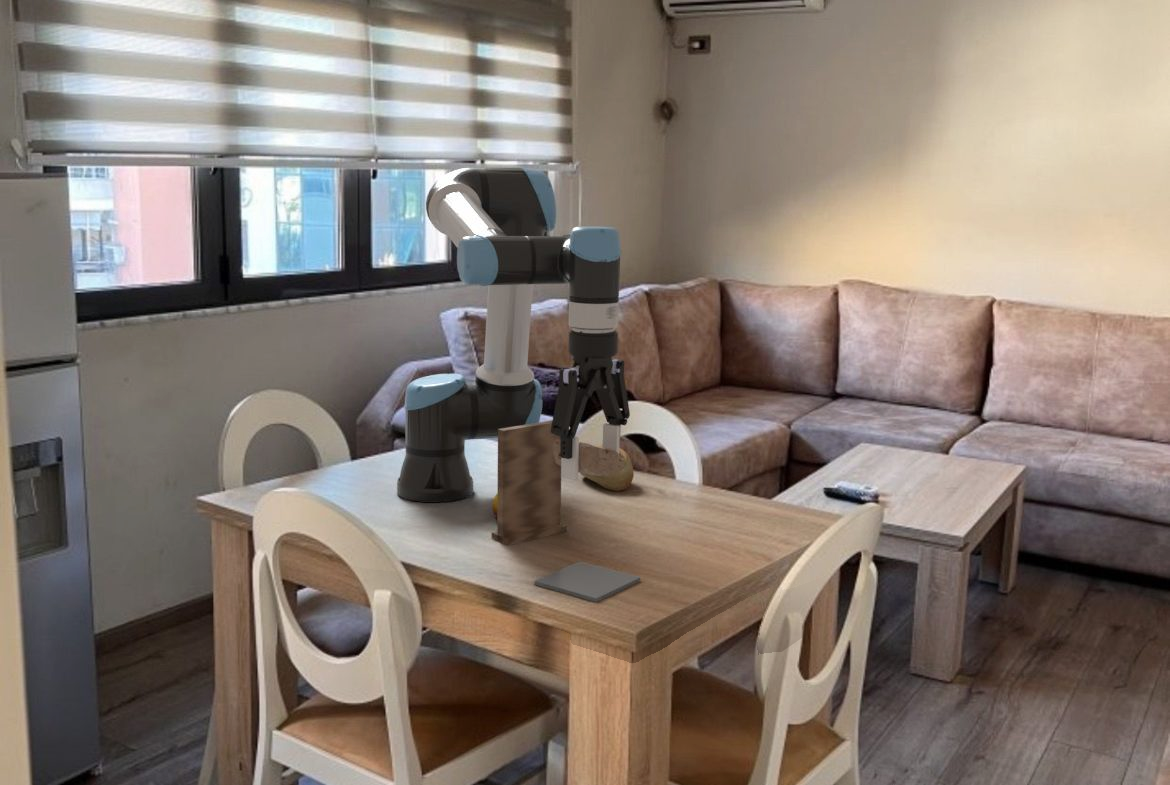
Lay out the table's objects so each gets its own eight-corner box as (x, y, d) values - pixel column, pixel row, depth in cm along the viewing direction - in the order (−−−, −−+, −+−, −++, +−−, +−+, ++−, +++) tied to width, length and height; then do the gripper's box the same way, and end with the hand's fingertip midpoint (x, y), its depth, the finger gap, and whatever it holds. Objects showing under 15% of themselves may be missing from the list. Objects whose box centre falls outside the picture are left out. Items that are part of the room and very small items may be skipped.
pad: (534, 584, 185) (534, 580, 185) (580, 564, 194) (580, 561, 194) (596, 602, 178) (596, 598, 178) (640, 580, 187) (640, 577, 187)
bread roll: (603, 472, 253) (604, 436, 251) (645, 489, 241) (646, 451, 239) (566, 478, 247) (566, 441, 246) (607, 495, 235) (608, 457, 234)
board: (508, 545, 203) (509, 432, 199) (491, 537, 207) (492, 427, 203) (566, 531, 212) (568, 422, 208) (548, 524, 215) (550, 417, 212)
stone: (581, 477, 176) (585, 444, 176) (545, 466, 186) (548, 435, 185) (631, 478, 180) (635, 446, 180) (594, 467, 190) (596, 437, 190)
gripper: (567, 339, 167) (565, 490, 171) (655, 324, 185) (650, 461, 189) (527, 334, 171) (525, 481, 176) (616, 320, 189) (612, 454, 194)
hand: (590, 471), depth 182 cm, fingers closed on stone, 10 cm apart
